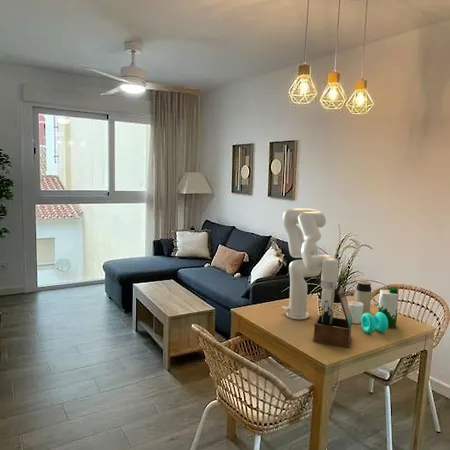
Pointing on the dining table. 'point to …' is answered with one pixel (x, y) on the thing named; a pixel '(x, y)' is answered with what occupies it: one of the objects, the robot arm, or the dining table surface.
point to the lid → (346, 305)
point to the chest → (332, 332)
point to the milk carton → (389, 305)
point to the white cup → (356, 311)
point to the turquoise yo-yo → (374, 322)
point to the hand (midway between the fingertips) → (327, 320)
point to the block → (330, 316)
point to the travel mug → (364, 294)
